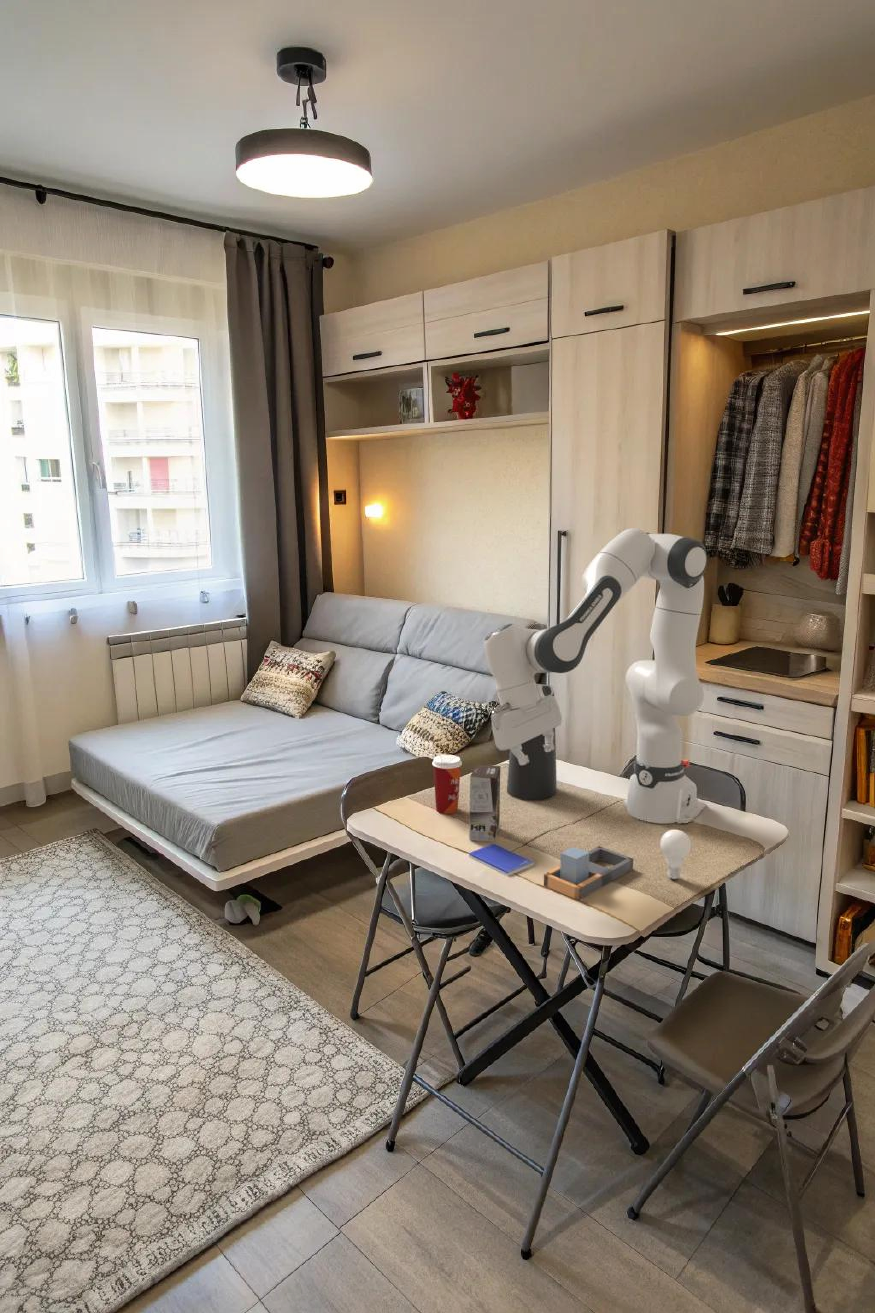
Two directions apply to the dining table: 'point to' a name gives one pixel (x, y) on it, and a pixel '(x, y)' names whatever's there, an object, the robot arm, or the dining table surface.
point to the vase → (533, 771)
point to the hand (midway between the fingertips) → (537, 757)
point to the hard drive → (501, 859)
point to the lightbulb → (675, 851)
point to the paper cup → (447, 783)
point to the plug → (574, 865)
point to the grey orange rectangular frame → (591, 874)
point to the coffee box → (484, 803)
